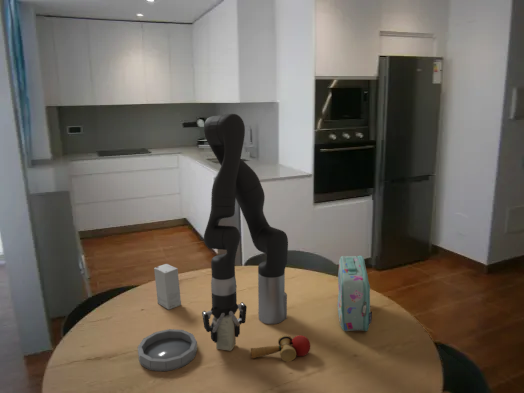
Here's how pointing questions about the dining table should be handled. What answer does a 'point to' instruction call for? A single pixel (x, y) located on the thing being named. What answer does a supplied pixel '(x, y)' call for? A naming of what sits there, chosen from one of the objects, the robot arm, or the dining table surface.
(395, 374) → the dining table surface
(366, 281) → the lunch box
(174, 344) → the round tray
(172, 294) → the skincare box
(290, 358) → the kendama
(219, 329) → the box
